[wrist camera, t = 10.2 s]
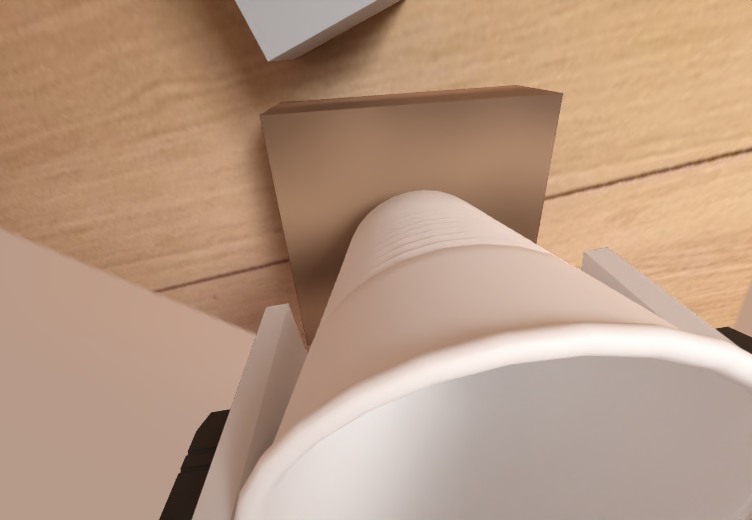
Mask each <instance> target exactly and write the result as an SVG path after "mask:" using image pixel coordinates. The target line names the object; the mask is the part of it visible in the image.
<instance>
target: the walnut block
mask: <svg viewBox="0 0 752 520" xmlns="http://www.w3.org/2000/svg"><path fill="white" fill-rule="evenodd" d="M562 96H563V93H558V92H553V91H547V90H541V89H536V88H530V87H524V86H519V85H512V86H499V87H485V88H471V89H457V90H444V91H430V92H416V93H403V94H389V95H375V96H362V97H348V98H334V99H320V100H307V101H293V102H281V103H279V104H277V105H276V106H274V107H273V108H271V109H269V110H268V111H266V112H265V113H263V114H261V115H260V120H261V125H262V130H263V134H264V139H265V144H266V149H267V154H268V158H269V163H270V168H271V173H272V178H273V182H274V187H275V192H276V197H277V202H278V206H279V211H280V216H281V221H282V226H283V231H284V235H285V240H286V245H287V250H288V255H289V259H290V264H291V269H292V274H293V279H294V283H295V288H296V293H297V298H298V303H299V307H300V312H301V317H302V322H303V327H304V331H305V336H306V341H307V346H308V345H311V344H312V342H313V340H314V338H315V336H316V332H317V329H318V328H319V325H320V322H321V319H322V317H323V315H324V311H325V308H326V307H327V304H328V301H329V298H330V296H331V293H332V290H333V288H334V285H335V282H336V280H337V277H338V275H339V273H340V269H341V267H342V264H343V262H344V259H345V256H346V253H347V250H348V248H349V245H350V243H351V240H352V238H353V235H354V233H355V232H356V230H357V228H358V226H359V224H360V223H361V222H362V221H363V219H364V218H365V217H366V216H367V215H368V213H370V212H371V211H372V210H373V209H375V208H376V207H377V206H378V205H380V204H381V203H383V202H385V201H387V200H389V199H390V198H392V197H394V196H397V195H401V194H404V193H407V192H413V191H421V190H429V191H440V192H444V193H447V194H451V195H454V196H456V197H458V198H460V199H462V200H464V201H466V202H467V203H469V204H471V205H472V206H474V207H476V208H477V209H479V210H481V211H482V212H484V213H486V214H487V215H488V216H490V217H492V218H493V219H495V220H497V221H499V222H500V223H502V224H504V225H506V226H507V227H508V228H510V229H512V230H514V231H515V232H517V233H519V234H520V235H522V236H523V237H525V238H527V239H529V240H531V241H532V242H533V243H535V244H536V242H537V237H538V231H539V225H540V220H541V214H542V209H543V203H544V197H545V192H546V186H547V180H548V175H549V169H550V164H551V158H552V152H553V147H554V141H555V135H556V130H557V124H558V119H559V113H560V107H561V102H562Z"/></svg>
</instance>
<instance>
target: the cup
mask: <svg viewBox="0 0 752 520" xmlns="http://www.w3.org/2000/svg"><path fill="white" fill-rule="evenodd" d="M234 520H752V354H750V353H749V352H747V351H745V350H743V349H741V348H739V347H737V346H735V345H733V344H731V343H729V342H727V341H724V340H721V339H718V338H714V337H709V336H705V335H701V334H696V333H692V332H687V331H683V330H681V329H679V328H677V327H676V326H674V325H672V324H671V323H669V322H667V321H666V320H664V319H662V318H661V317H659V316H657V315H655V314H654V313H652V312H650V311H649V310H647V309H645V308H644V307H642V306H640V305H639V304H637V303H635V302H634V301H632V300H630V299H629V298H627V297H625V296H624V295H622V294H620V293H618V292H617V291H615V290H613V289H612V288H610V287H608V286H607V285H605V284H603V283H602V282H600V281H598V280H597V279H595V278H593V277H592V276H590V275H588V274H587V273H585V272H583V271H581V270H580V269H578V268H576V267H574V266H572V265H570V264H568V263H566V262H565V261H564V260H562V259H560V258H558V257H556V256H555V255H553V254H552V253H551V252H549V251H547V250H545V249H543V248H542V247H541V246H539V245H537V244H535V243H533V242H532V241H531V240H529V239H527V238H525V237H523V236H522V235H520V234H519V233H517V232H515V231H514V230H512V229H510V228H508V227H507V226H506V225H504V224H502V223H500V222H499V221H497V220H495V219H493V218H492V217H490V216H488V215H487V214H486V213H484V212H482V211H481V210H479V209H477V208H476V207H474V206H472V205H471V204H469V203H467V202H466V201H464V200H462V199H460V198H458V197H456V196H454V195H451V194H447V193H444V192H440V191H429V190H421V191H413V192H407V193H404V194H401V195H397V196H394V197H392V198H390V199H389V200H387V201H385V202H383V203H381V204H380V205H378V206H377V207H376V208H375V209H373V210H372V211H371V212H370V213H368V215H367V216H366V217H365V218H364V219H363V221H362V222H361V223H360V224H359V226H358V228H357V230H356V232H355V233H354V235H353V238H352V240H351V243H350V245H349V248H348V250H347V253H346V256H345V259H344V262H343V264H342V267H341V269H340V273H339V275H338V277H337V280H336V282H335V285H334V288H333V290H332V293H331V296H330V298H329V301H328V304H327V307H326V308H325V311H324V315H323V317H322V319H321V322H320V325H319V328H318V329H317V332H316V336H315V338H314V340H313V342H312V344H311V346H310V349H309V352H308V354H307V357H306V359H305V362H304V365H303V367H302V370H301V372H300V375H299V378H298V380H297V383H296V385H295V388H294V390H293V393H292V396H291V398H290V401H289V403H288V406H287V409H286V411H285V414H284V416H283V419H282V422H281V424H280V427H279V429H278V432H277V435H276V437H275V440H274V442H273V444H272V445H271V446H270V447H269V448H268V449H267V450H266V451H265V452H264V453H263V455H262V456H261V457H260V459H259V461H258V462H257V464H256V466H255V467H254V469H253V471H252V472H251V474H250V476H249V477H248V479H247V481H246V482H245V484H244V486H243V487H242V489H241V491H240V492H239V496H238V501H237V506H236V511H235V516H234Z"/></svg>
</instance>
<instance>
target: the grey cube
mask: <svg viewBox="0 0 752 520" xmlns="http://www.w3.org/2000/svg"><path fill="white" fill-rule="evenodd" d="M399 1H401V0H235V2H236V3H237V5H238V7H239V9H240V11H241V13H242V14H243V16H244V18H245V20H246V22H247V24H248V26H249V27H250V29H251V31H252V33H253V35H254V37H255V38H256V40H257V42H258V44H259V46H260V48H261V50H262V51H263V53H264V55H265V57H266V59H267V61H268V62H269V61H284V60H294V59H296V58H298V57H300V56H302V55H303V54H305V53H307V52H309V51H311V50H312V49H314V48H316V47H318V46H320V45H321V44H323V43H325V42H327V41H329V40H330V39H332V38H334V37H336V36H338V35H339V34H341V33H343V32H345V31H347V30H348V29H350V28H352V27H354V26H356V25H357V24H359V23H361V22H363V21H365V20H366V19H368V18H370V17H372V16H374V15H375V14H377V13H379V12H381V11H383V10H384V9H386V8H388V7H390V6H392V5H393V4H395V3H397V2H399Z"/></svg>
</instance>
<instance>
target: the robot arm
mask: <svg viewBox="0 0 752 520" xmlns="http://www.w3.org/2000/svg"><path fill="white" fill-rule="evenodd" d="M581 271H583V272H585V273H587V274H588V275H590V276H592V277H593V278H595V279H597V280H598V281H600V282H602V283H603V284H605V285H607V286H608V287H610V288H612V289H613V290H615V291H617V292H618V293H620V294H622V295H624V296H625V297H627V298H629V299H630V300H632V301H634V302H635V303H637V304H639V305H640V306H642V307H644V308H645V309H647V310H649V311H650V312H652V313H654V314H655V315H657V316H659V317H661V318H662V319H664V320H666V321H667V322H669V323H671V324H672V325H674V326H676V327H677V328H679V329H681V330H683V331H687V332H692V333H696V334H701V335H705V336H709V337H714V338H718V339H721V340H724V341H727V342H729V343H731V344H733V345H735V346H737V347H739V348H741V349H743V350H745V351H747V352H749V353H750V354H752V337H750V336H747V335H745V334H743V333H741V332H738V331H736V330H734V329H732V328H730V327H723V328H717V329H715V328H713V327H712V326H711V325H709V324H708V323H707V322H706V321H704V320H703V319H702V318H700V317H699V316H698V315H696V314H695V313H694V312H692V311H691V310H690V309H688V308H687V307H686V306H684V305H683V304H682V303H681V302H679V301H678V300H677V299H675V298H674V297H673V296H671V295H670V294H669V293H667V292H666V291H665V290H663V289H662V288H661V287H659V286H658V285H657V284H656V283H654V282H653V281H652V280H650V279H649V278H648V277H646V276H645V275H644V274H642V273H641V272H640V271H638V270H637V269H636V268H634V267H633V266H632V265H630V264H629V263H628V262H627V261H625V260H624V259H623V258H621V257H620V256H619V255H617V254H616V253H615V252H613V251H612V250H611V249H609V248H608V247H606V248H600V249H594V250H589V251H584V254H583V262H582V269H581ZM306 357H307V352H306V349H305V347H304V344H303V341H302V339H301V336H300V333H299V330H298V328H297V325H296V322H295V320H294V317H293V314H292V312H291V309H290V306H289V303H286V304H280V305H274V306H269V307H266V309H265V312H264V315H263V318H262V321H261V323H260V326H259V329H258V332H257V335H256V338H255V341H254V343H253V346H252V349H251V352H250V355H249V358H248V361H247V364H246V366H245V369H244V372H243V375H242V378H241V381H240V383H239V386H238V389H237V392H236V395H235V398H234V401H233V403H232V406H231V409H229V410H223V411H217V412H212V413H210V415H209V416H208V417H207V418H206V420H205V421H204V422H203V423H202V425H201V426H200V427H199V428H198V430H197V431H196V433H195V436H194V438H193V441H192V443H191V445H190V448H189V450H188V455H187V456H186V457H185V459H184V462H183V464H182V467H181V473H179V474H178V476H177V479H176V481H175V483H174V486H173V488H172V490H171V493H170V495H169V497H168V500H167V502H166V505H165V507H164V509H163V512H162V514H161V517H160V519H159V520H234V516H235V511H236V506H237V501H238V496H239V492H240V491H241V489H242V487H243V486H244V484H245V482H246V481H247V479H248V477H249V476H250V474H251V472H252V471H253V469H254V467H255V466H256V464H257V462H258V461H259V459H260V457H261V456H262V455H263V453H264V452H265V451H266V450H267V449H268V448H269V447H270V446H271V445H272V444H273V442H274V440H275V437H276V435H277V432H278V429H279V427H280V424H281V422H282V419H283V416H284V414H285V411H286V409H287V406H288V403H289V401H290V398H291V396H292V393H293V390H294V388H295V385H296V383H297V380H298V378H299V375H300V372H301V370H302V367H303V365H304V362H305V359H306Z"/></svg>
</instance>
